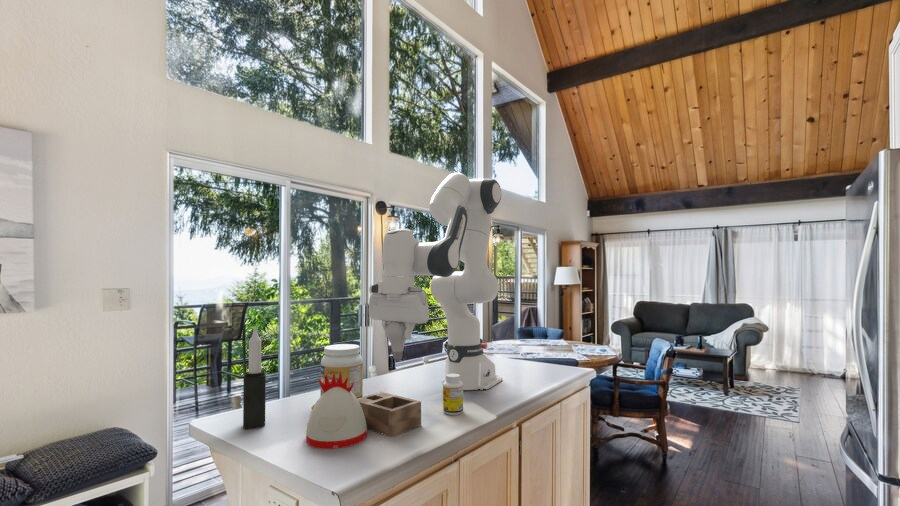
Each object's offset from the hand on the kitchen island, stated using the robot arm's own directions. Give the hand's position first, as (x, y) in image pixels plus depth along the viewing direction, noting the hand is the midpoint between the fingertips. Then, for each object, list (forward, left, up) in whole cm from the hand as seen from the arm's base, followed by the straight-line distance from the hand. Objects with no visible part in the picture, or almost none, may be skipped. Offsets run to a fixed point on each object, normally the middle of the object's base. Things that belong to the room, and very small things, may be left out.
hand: (397, 338), depth 120 cm
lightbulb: (0, 0, -6) cm, 6 cm away
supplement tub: (+3, -21, -21) cm, 30 cm away
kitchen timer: (+19, -1, -21) cm, 29 cm away
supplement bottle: (-11, +10, -21) cm, 26 cm away
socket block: (+7, +2, -21) cm, 22 cm away
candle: (+28, -24, -21) cm, 42 cm away
